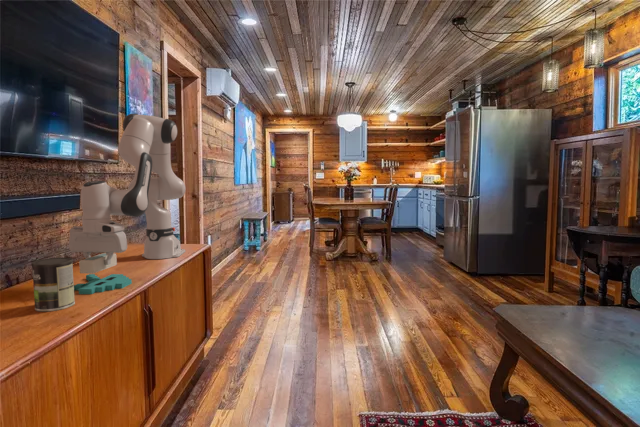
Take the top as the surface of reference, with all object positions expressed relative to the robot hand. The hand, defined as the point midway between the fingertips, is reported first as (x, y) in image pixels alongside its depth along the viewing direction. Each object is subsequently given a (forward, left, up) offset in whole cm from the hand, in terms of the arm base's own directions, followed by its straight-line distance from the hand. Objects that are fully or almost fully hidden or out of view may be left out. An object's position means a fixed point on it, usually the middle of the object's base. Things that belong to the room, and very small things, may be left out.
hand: (99, 264), depth 139 cm
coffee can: (+22, +1, -8) cm, 23 cm away
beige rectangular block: (0, 0, -2) cm, 2 cm away
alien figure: (0, 0, -9) cm, 9 cm away
